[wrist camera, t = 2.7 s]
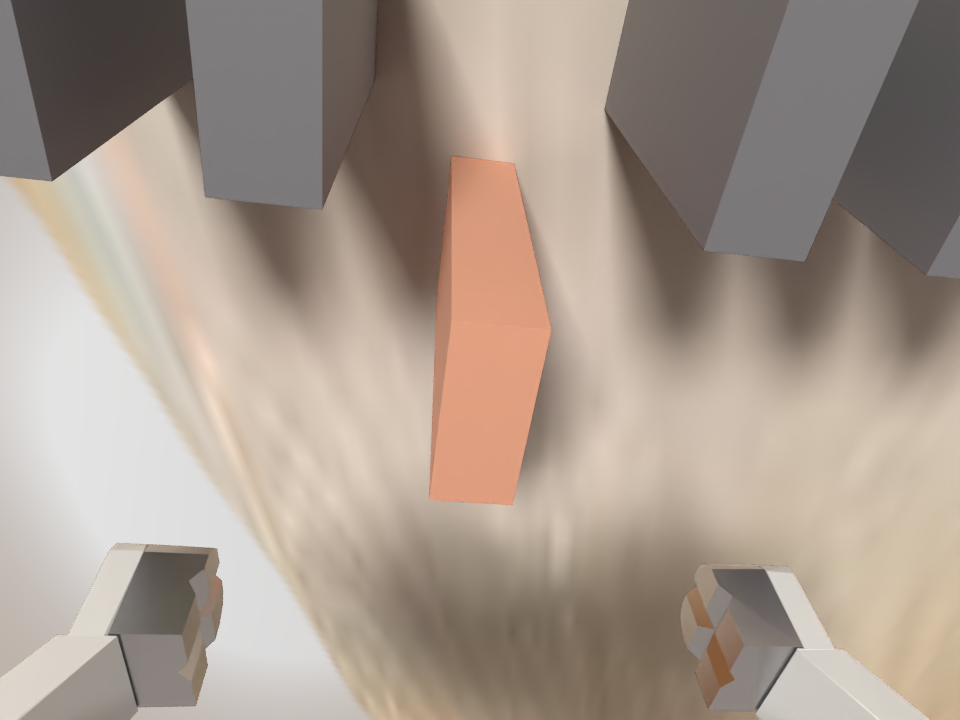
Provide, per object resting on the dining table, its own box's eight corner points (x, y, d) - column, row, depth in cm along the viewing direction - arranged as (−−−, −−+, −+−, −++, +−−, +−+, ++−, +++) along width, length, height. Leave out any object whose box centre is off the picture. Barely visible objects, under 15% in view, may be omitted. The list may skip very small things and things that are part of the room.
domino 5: (383, -126, 18) (322, -139, 9) (374, 79, 20) (322, 209, 12) (303, -139, 17) (169, -163, 9) (306, 70, 20) (205, 197, 12)
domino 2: (876, -48, 19) (1203, 2, 11) (804, 134, 22) (1021, 285, 13) (807, -59, 19) (1088, -17, 10) (744, 126, 21) (925, 275, 13)
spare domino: (513, 163, 22) (551, 329, 14) (491, 299, 25) (512, 505, 16) (451, 156, 22) (451, 320, 13) (436, 293, 24) (429, 500, 16)
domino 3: (719, -73, 18) (936, -41, 10) (667, 117, 21) (804, 261, 13) (647, -84, 18) (810, -61, 10) (604, 109, 21) (702, 250, 13)
